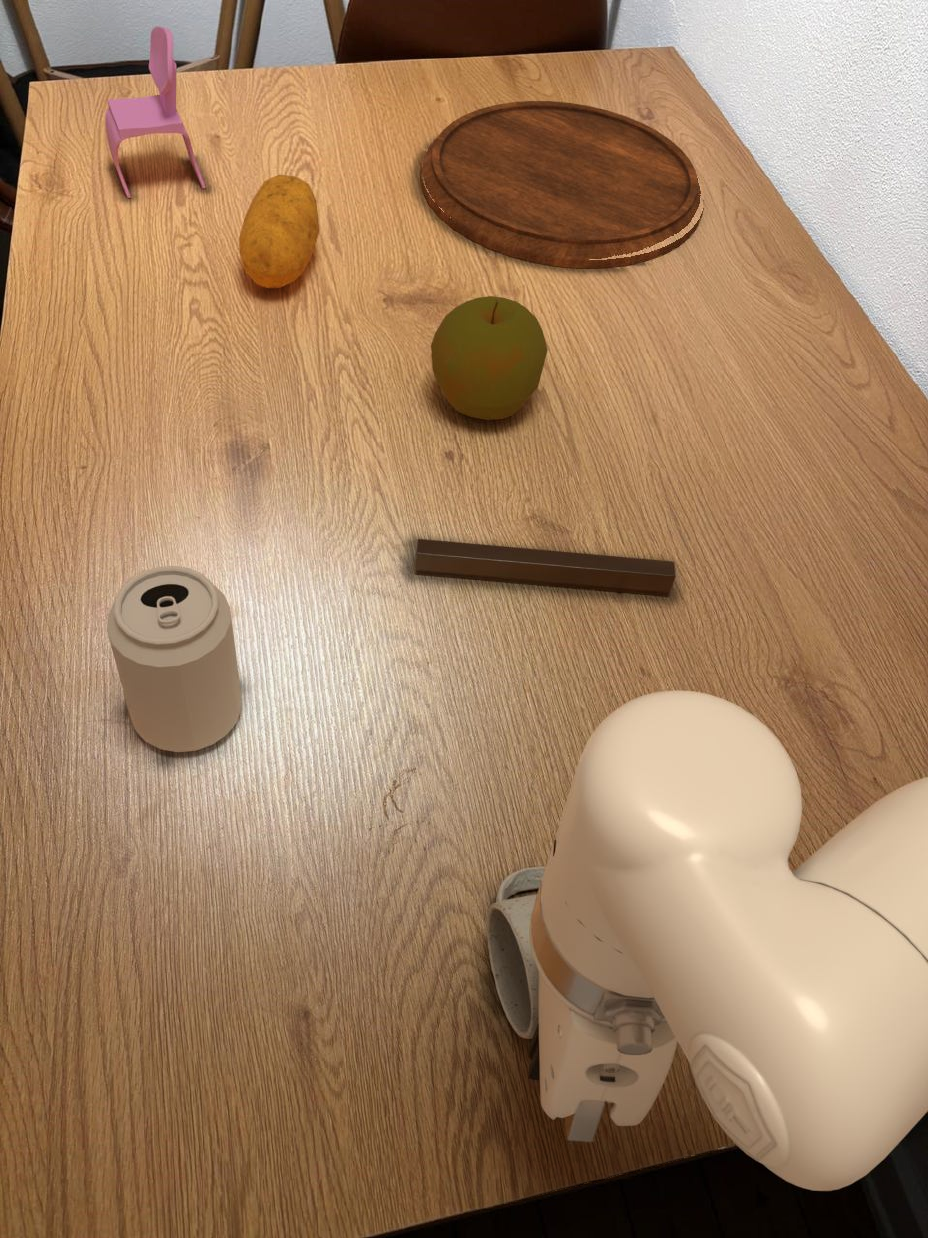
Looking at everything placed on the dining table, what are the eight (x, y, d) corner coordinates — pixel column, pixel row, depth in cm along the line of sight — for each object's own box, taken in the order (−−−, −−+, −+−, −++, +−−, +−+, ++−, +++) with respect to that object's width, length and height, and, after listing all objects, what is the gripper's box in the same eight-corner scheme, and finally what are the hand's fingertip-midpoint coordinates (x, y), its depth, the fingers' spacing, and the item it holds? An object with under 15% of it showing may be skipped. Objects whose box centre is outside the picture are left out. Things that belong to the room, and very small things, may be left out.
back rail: (669, 596, 87) (676, 576, 85) (414, 574, 86) (416, 553, 84) (666, 566, 89) (673, 546, 87) (417, 544, 88) (419, 523, 86)
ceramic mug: (649, 1020, 65) (678, 967, 60) (519, 1060, 63) (536, 1009, 57) (582, 864, 72) (602, 802, 66) (462, 895, 70) (472, 834, 64)
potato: (330, 230, 116) (329, 166, 110) (304, 311, 106) (301, 245, 101) (261, 221, 116) (257, 157, 110) (229, 302, 106) (223, 236, 101)
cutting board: (624, 305, 111) (629, 283, 109) (363, 196, 120) (363, 173, 118) (746, 177, 130) (752, 156, 128) (511, 91, 139) (514, 70, 137)
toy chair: (110, 163, 120) (84, 18, 109) (191, 154, 123) (174, 11, 111) (124, 203, 116) (99, 56, 104) (208, 193, 118) (193, 48, 107)
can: (232, 660, 80) (217, 546, 70) (252, 745, 75) (239, 635, 66) (125, 681, 78) (95, 567, 68) (139, 770, 73) (109, 660, 64)
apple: (521, 364, 104) (537, 261, 96) (551, 433, 98) (570, 329, 90) (417, 374, 102) (423, 269, 93) (441, 444, 96) (450, 339, 88)
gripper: (737, 1125, 41) (634, 1227, 55) (699, 773, 50) (620, 938, 64) (533, 1111, 40) (483, 1218, 54) (534, 759, 50) (491, 928, 64)
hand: (557, 1066), depth 59 cm, fingers closed
